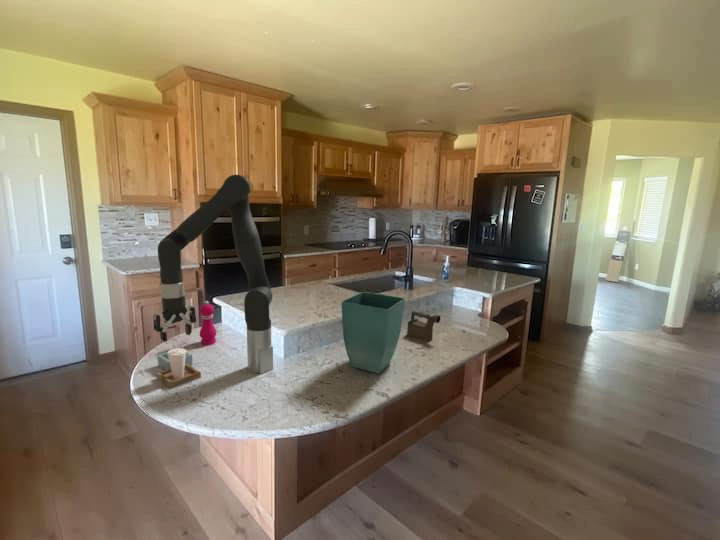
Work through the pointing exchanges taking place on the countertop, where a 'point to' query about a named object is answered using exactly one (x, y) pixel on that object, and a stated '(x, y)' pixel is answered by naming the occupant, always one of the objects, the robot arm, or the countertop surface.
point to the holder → (165, 363)
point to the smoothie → (177, 361)
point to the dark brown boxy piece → (422, 326)
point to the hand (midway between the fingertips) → (176, 337)
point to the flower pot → (371, 329)
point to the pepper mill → (207, 325)
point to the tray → (171, 382)
